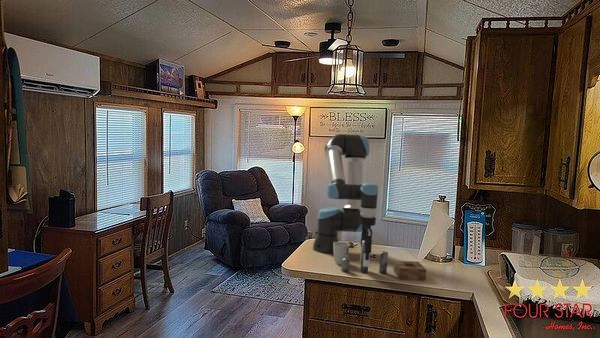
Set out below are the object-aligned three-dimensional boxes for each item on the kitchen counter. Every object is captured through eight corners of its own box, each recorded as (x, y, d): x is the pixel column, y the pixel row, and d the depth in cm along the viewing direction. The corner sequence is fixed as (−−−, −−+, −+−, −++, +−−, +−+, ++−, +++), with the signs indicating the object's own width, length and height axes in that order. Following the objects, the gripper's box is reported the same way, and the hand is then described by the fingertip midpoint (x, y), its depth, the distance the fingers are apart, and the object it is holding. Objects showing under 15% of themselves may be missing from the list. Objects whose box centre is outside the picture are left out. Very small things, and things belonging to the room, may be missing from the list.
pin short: (341, 269, 207) (341, 257, 207) (348, 270, 207) (349, 257, 207) (341, 272, 204) (342, 259, 203) (349, 272, 204) (350, 260, 203)
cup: (347, 266, 213) (348, 246, 212) (331, 264, 214) (332, 244, 213) (349, 261, 221) (350, 242, 220) (333, 260, 222) (334, 240, 221)
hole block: (393, 270, 210) (394, 260, 210) (417, 271, 210) (418, 261, 210) (399, 279, 198) (400, 268, 198) (425, 280, 198) (426, 269, 198)
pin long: (359, 270, 207) (361, 240, 206) (367, 270, 208) (369, 240, 206) (360, 273, 204) (362, 241, 203) (368, 273, 204) (370, 242, 203)
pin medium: (378, 271, 208) (379, 251, 207) (385, 271, 208) (387, 251, 207) (379, 273, 204) (381, 253, 203) (387, 274, 204) (388, 253, 203)
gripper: (356, 211, 213) (353, 256, 215) (363, 220, 193) (360, 270, 195) (371, 212, 213) (368, 257, 216) (380, 221, 193) (376, 270, 195)
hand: (364, 263), depth 205 cm, fingers open, 8 cm apart
